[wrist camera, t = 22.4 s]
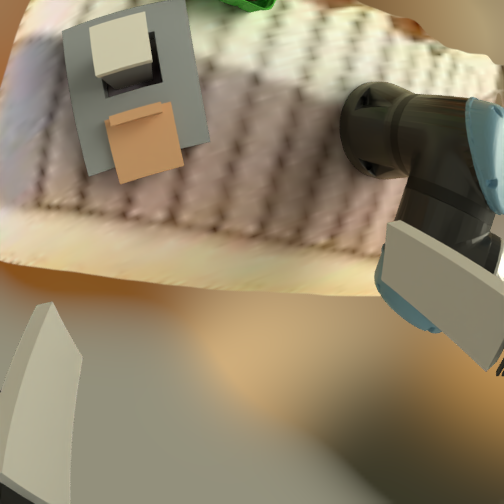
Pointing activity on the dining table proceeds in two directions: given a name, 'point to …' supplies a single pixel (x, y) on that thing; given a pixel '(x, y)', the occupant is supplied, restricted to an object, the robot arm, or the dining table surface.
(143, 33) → the plug
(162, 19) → the socket
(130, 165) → the tan plate with tab
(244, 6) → the fruit basket
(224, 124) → the dining table surface
